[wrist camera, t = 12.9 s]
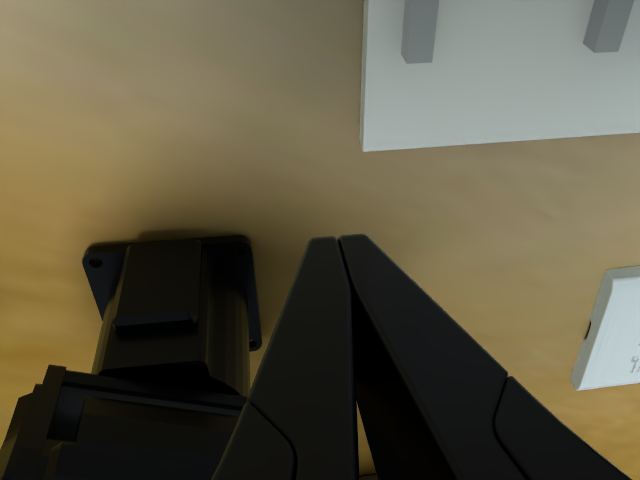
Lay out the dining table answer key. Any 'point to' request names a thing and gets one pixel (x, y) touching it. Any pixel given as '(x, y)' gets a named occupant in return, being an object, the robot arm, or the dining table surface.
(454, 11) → the board
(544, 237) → the dining table surface
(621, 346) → the external hard drive
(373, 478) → the plant pot
